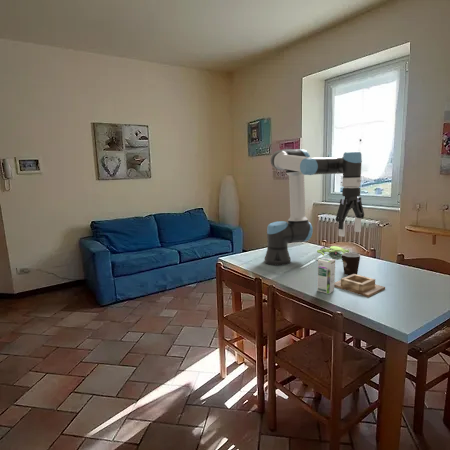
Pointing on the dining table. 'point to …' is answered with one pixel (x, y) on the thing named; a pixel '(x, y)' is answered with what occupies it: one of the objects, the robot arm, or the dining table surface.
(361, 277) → the wooden socket base
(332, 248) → the figurine
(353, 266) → the coffee mug
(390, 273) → the dining table surface
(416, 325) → the dining table surface
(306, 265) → the dining table surface
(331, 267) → the syrup box
